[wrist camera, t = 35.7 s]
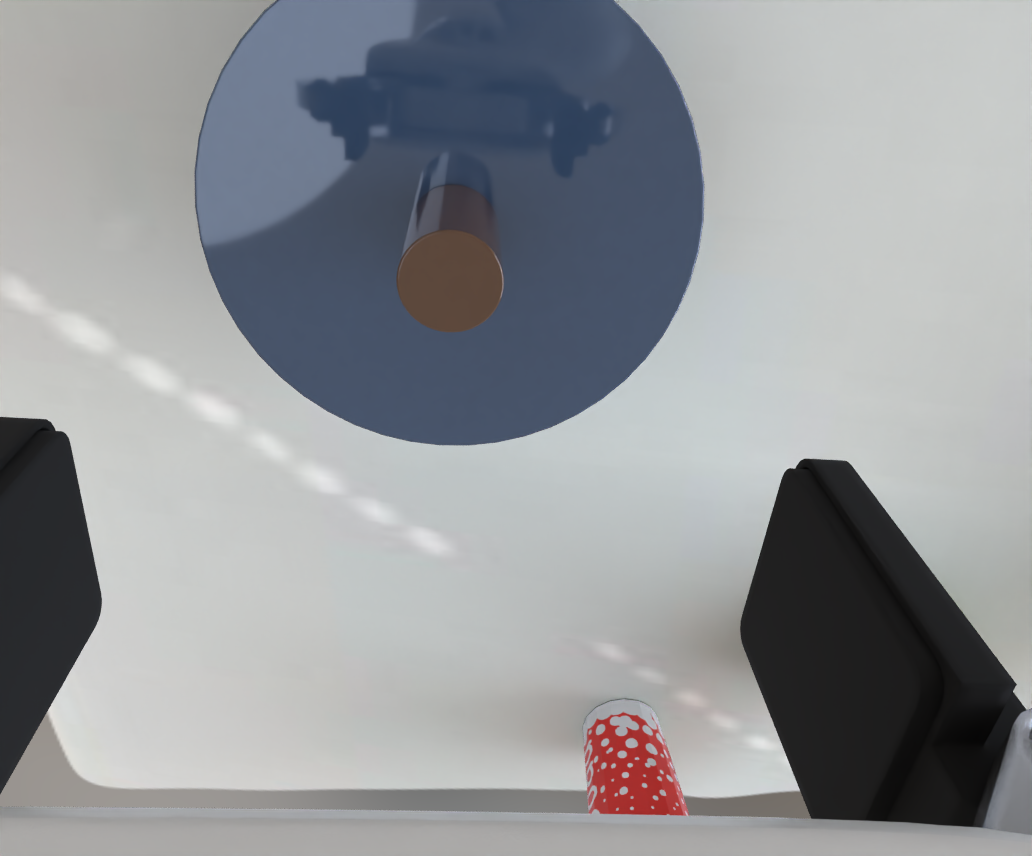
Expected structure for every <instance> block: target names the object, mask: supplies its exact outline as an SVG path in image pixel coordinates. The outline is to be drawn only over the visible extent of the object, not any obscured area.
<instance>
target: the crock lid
mask: <svg viewBox="0 0 1032 856" xmlns="http://www.w3.org/2000/svg"><path fill="white" fill-rule="evenodd" d="M195 208H196V214H197V221H198V227H199V234H200V240H201V243H202V247H203V250H204V254H205V257H206V261H207V264H208V268H209V271H210V273H211V276H212V278H213V280H214V283H215V285H216V287H217V290H218V292H219V294H220V297H221V299H222V301H223V303H224V305H225V306H226V308H227V310H228V311H229V313H230V315H231V316H232V318H233V320H234V322H235V323H236V325H237V327H238V328H239V330H240V331H241V332H242V334H243V335H244V336H245V338H246V339H247V340H248V342H249V343H250V344H251V346H252V347H253V348H254V350H255V351H256V352H257V354H258V355H259V356H260V357H261V358H262V359H263V360H264V361H265V362H266V363H267V364H268V365H269V366H270V367H271V368H272V369H273V370H274V371H275V372H276V373H277V374H278V375H279V376H280V377H281V378H282V379H283V380H285V381H286V382H287V383H288V384H289V385H291V386H292V387H293V388H294V389H296V390H297V391H298V392H299V393H300V394H302V395H303V396H304V397H306V398H308V399H309V400H311V401H312V402H314V403H315V404H317V405H318V406H320V407H322V408H323V409H325V410H326V411H328V412H330V413H332V414H334V415H336V416H338V417H340V418H342V419H344V420H346V421H348V422H350V423H352V424H354V425H356V426H359V427H362V428H365V429H368V430H370V431H373V432H376V433H379V434H381V435H385V436H389V437H394V438H398V439H402V440H406V441H410V442H418V443H426V444H435V445H477V444H486V443H496V442H501V441H505V440H510V439H514V438H519V437H523V436H527V435H530V434H533V433H535V432H538V431H541V430H544V429H547V428H550V427H552V426H555V425H557V424H559V423H561V422H563V421H565V420H567V419H569V418H571V417H573V416H575V415H578V414H579V413H581V412H582V411H584V410H585V409H587V408H589V407H590V406H592V405H593V404H595V403H597V402H598V401H600V400H601V399H603V398H604V397H605V396H606V395H608V394H609V393H610V392H611V391H612V390H614V389H615V388H616V387H617V386H619V385H620V384H621V383H622V382H624V381H625V380H626V379H627V378H628V377H629V376H630V375H631V373H632V372H633V371H634V370H635V369H636V368H637V367H638V366H639V365H640V364H641V363H642V362H643V361H644V360H645V359H646V358H647V356H648V355H649V354H650V352H651V351H652V350H653V348H654V347H655V346H656V344H657V343H658V342H659V340H660V339H661V338H662V336H663V335H664V333H665V331H666V330H667V328H668V326H669V325H670V323H671V321H672V319H673V318H674V316H675V314H676V313H677V311H678V309H679V307H680V304H681V302H682V300H683V297H684V295H685V293H686V290H687V288H688V285H689V283H690V281H691V277H692V274H693V270H694V267H695V263H696V259H697V256H698V252H699V247H700V241H701V234H702V227H703V221H704V177H703V169H702V160H701V152H700V148H699V143H698V139H697V135H696V131H695V127H694V123H693V119H692V117H691V114H690V112H689V109H688V107H687V104H686V102H685V99H684V97H683V94H682V91H681V89H680V86H679V85H678V83H677V81H676V79H675V77H674V76H673V74H672V72H671V70H670V69H669V67H668V65H667V63H666V62H665V60H664V58H663V56H662V54H661V53H660V52H659V51H658V49H657V48H656V47H655V45H654V44H653V43H652V41H651V40H650V39H649V37H648V36H647V35H646V34H645V32H644V31H643V30H642V28H641V27H640V26H639V25H638V24H637V23H636V22H635V21H634V20H633V19H632V18H631V17H630V16H629V15H628V14H627V13H626V12H625V11H624V10H623V9H622V8H621V7H620V6H619V5H618V4H617V3H616V2H615V1H614V0H276V1H275V2H273V3H272V4H271V5H270V6H269V7H268V8H267V9H266V10H264V11H263V13H262V14H261V15H260V16H259V17H258V19H257V20H256V21H255V22H254V23H253V25H252V26H251V27H250V28H249V29H248V31H247V32H246V33H245V34H244V35H243V37H242V38H241V39H240V41H239V42H238V44H237V46H236V47H235V49H234V50H233V52H232V54H231V55H230V57H229V59H228V60H227V62H226V64H225V65H224V67H223V69H222V70H221V73H220V75H219V77H218V80H217V82H216V84H215V87H214V89H213V92H212V94H211V96H210V99H209V101H208V103H207V107H206V111H205V115H204V119H203V122H202V126H201V130H200V134H199V138H198V147H197V155H196V164H195Z"/></svg>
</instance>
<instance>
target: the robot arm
mask: <svg viewBox="0 0 1032 856" xmlns="http://www.w3.org/2000/svg"><path fill="white" fill-rule="evenodd" d="M101 605H102V598H101V591H100V586H99V581H98V576H97V571H96V567H95V562H94V557H93V552H92V547H91V542H90V537H89V533H88V528H87V523H86V518H85V513H84V508H83V503H82V499H81V494H80V489H79V484H78V479H77V474H76V469H75V464H74V460H73V455H72V450H71V445H70V441H69V438H68V437H67V435H66V434H65V433H64V432H61V431H55V428H54V426H53V425H52V423H51V422H50V421H48V420H46V419H29V418H9V417H0V794H1V792H2V790H3V788H4V787H5V785H6V783H7V781H8V780H9V778H10V776H11V774H12V773H13V771H14V769H15V767H16V765H17V764H18V762H19V760H20V758H21V757H22V755H23V753H24V751H25V750H26V748H27V746H28V744H29V743H30V741H31V739H32V737H33V736H34V734H35V732H36V730H37V729H38V727H39V725H40V723H41V721H42V720H43V718H44V716H45V714H46V713H47V711H48V709H49V707H50V706H51V704H52V702H53V700H54V699H55V697H56V695H57V693H58V692H59V690H60V688H61V686H62V685H63V683H64V681H65V679H66V678H67V676H68V674H69V672H70V670H71V669H72V667H73V665H74V663H75V662H76V660H77V658H78V656H79V655H80V653H81V651H82V649H83V648H84V646H85V644H86V642H87V641H88V639H89V637H90V635H91V633H92V632H93V630H94V628H95V626H96V624H97V622H98V620H99V616H100V612H101ZM740 631H741V640H742V644H743V647H744V650H745V652H746V655H747V657H748V660H749V662H750V665H751V667H752V670H753V672H754V675H755V678H756V680H757V683H758V685H759V688H760V690H761V693H762V695H763V698H764V700H765V703H766V705H767V708H768V710H769V713H770V715H771V718H772V720H773V723H774V726H775V728H776V731H777V733H778V736H779V738H780V741H781V743H782V746H783V748H784V751H785V753H786V756H787V758H788V761H789V763H790V766H791V768H792V771H793V774H794V776H795V779H796V781H797V784H798V786H799V789H800V791H801V794H802V796H803V799H804V801H805V804H806V806H807V809H808V811H809V814H810V816H811V819H801V818H773V817H731V816H730V817H729V816H681V815H632V814H582V813H526V812H464V811H463V812H462V811H457V812H456V811H398V810H394V811H393V810H324V809H323V810H322V809H243V808H239V809H238V808H230V809H229V808H134V807H132V808H130V807H0V856H1032V708H1031V709H1029V710H1026V709H1025V707H1024V706H1023V705H1022V703H1021V702H1020V701H1019V699H1018V698H1017V697H1016V695H1015V694H1014V693H1013V690H1014V688H1015V686H1016V685H1017V684H1016V683H1015V682H1014V680H1013V679H1012V678H1011V676H1010V675H1009V674H1008V672H1007V671H1006V670H1005V668H1004V667H1003V666H1002V664H1001V663H1000V662H999V661H998V659H997V658H996V657H995V655H994V654H993V653H992V651H991V650H990V649H989V647H988V646H987V645H986V643H985V642H984V641H983V639H982V638H981V637H980V635H979V634H978V633H977V631H976V630H975V629H974V627H973V626H972V625H971V623H970V622H969V621H968V619H967V618H966V617H965V615H964V614H963V613H962V611H961V610H960V609H959V607H958V606H957V605H956V603H955V602H954V601H953V599H952V598H951V597H950V596H949V594H948V593H947V592H946V590H945V589H944V588H943V586H942V585H941V584H940V582H939V581H938V580H937V578H936V577H935V576H934V574H933V573H932V572H931V570H930V569H929V568H928V566H927V565H926V564H925V562H924V561H923V560H922V558H921V557H920V556H919V554H918V553H917V552H916V550H915V549H914V548H913V546H912V545H911V544H910V542H909V541H908V540H907V538H906V537H905V536H904V534H903V533H902V532H901V531H900V529H899V528H898V527H897V525H896V524H895V523H894V521H893V520H892V519H891V517H890V516H889V515H888V513H887V512H886V511H885V509H884V508H883V507H882V505H881V504H880V503H879V501H878V500H877V499H876V497H875V496H874V495H873V493H872V492H871V491H870V489H869V488H868V487H867V485H866V484H865V483H864V481H863V480H862V479H861V477H860V476H859V475H858V473H857V472H856V471H855V469H854V468H853V467H852V466H851V465H850V464H849V463H848V462H847V461H840V460H821V459H803V460H801V461H800V462H799V464H798V465H797V467H796V469H791V468H789V469H788V470H786V472H785V473H784V475H783V477H782V480H781V483H780V487H779V490H778V494H777V497H776V501H775V504H774V508H773V511H772V514H771V518H770V521H769V525H768V528H767V532H766V535H765V539H764V542H763V545H762V549H761V552H760V556H759V559H758V563H757V566H756V569H755V573H754V576H753V580H752V583H751V587H750V590H749V594H748V597H747V600H746V604H745V607H744V611H743V614H742V618H741V626H740Z"/></svg>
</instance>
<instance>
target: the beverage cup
mask: <svg viewBox="0 0 1032 856" xmlns="http://www.w3.org/2000/svg"><path fill="white" fill-rule="evenodd" d="M583 737H584V751H585V765H586V779H587V793H588V807H589V814H632V815H681V816H689V813H688V810H687V807H686V804H685V801H684V797H683V794H682V791H681V788H680V785H679V782H678V779H677V776H676V773H675V770H674V766H673V763H672V760H671V757H670V754H669V751H668V748H667V745H666V742H665V739H664V736H663V733H662V730H661V726H660V723H659V720H658V717H657V715H656V714H655V712H654V711H653V710H652V709H651V707H650V706H648V705H646V704H644V703H642V702H640V701H635V700H627V699H621V700H615V701H609V702H607V703H605V704H602V705H600V706H598V707H596V708H595V709H594V710H593V711H592V712H591V713H590V714H589V715H588V716H587V717H586V720H585V722H584V725H583Z"/></svg>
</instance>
